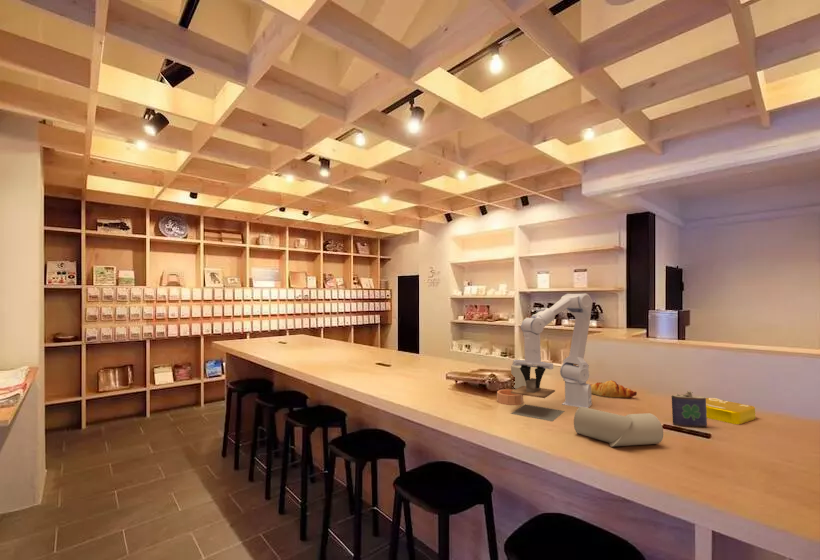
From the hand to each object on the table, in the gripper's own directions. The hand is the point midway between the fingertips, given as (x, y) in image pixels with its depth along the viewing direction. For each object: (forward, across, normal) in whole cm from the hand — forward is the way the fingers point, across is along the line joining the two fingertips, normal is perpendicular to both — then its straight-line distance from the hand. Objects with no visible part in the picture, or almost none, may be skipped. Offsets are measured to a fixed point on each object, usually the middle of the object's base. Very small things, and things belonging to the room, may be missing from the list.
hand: (533, 386), depth 145 cm
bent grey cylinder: (+10, +29, -14) cm, 34 cm away
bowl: (+9, -12, +7) cm, 17 cm away
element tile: (+10, +56, +34) cm, 67 cm away
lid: (+2, 0, 0) cm, 2 cm away
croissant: (+10, +18, +43) cm, 48 cm away
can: (+9, -18, +33) cm, 39 cm away
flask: (+9, +47, +14) cm, 50 cm away
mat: (+9, +2, -1) cm, 9 cm away
